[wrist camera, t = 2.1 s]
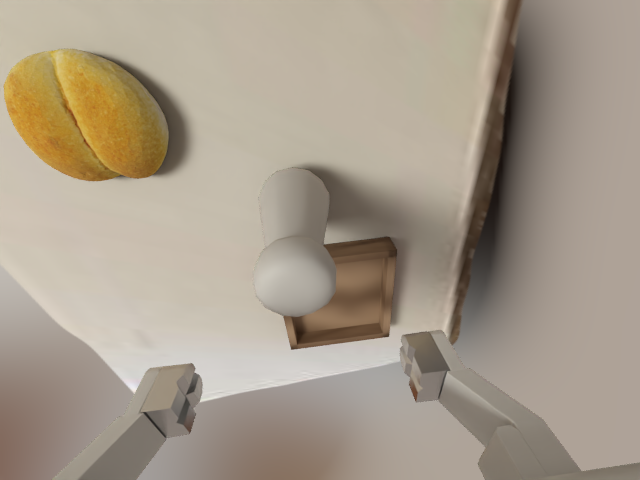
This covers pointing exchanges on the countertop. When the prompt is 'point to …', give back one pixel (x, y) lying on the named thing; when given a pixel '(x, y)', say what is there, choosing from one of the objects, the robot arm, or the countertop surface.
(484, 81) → the countertop surface
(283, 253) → the salt shaker
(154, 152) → the bread roll
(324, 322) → the tray
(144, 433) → the robot arm
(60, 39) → the countertop surface
